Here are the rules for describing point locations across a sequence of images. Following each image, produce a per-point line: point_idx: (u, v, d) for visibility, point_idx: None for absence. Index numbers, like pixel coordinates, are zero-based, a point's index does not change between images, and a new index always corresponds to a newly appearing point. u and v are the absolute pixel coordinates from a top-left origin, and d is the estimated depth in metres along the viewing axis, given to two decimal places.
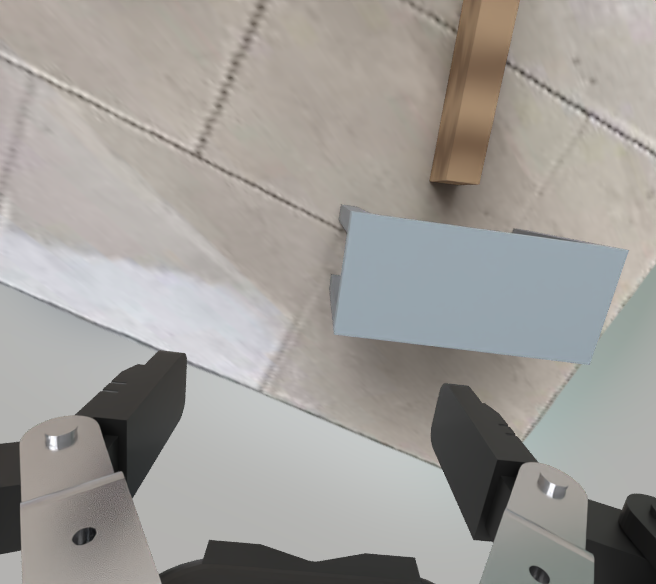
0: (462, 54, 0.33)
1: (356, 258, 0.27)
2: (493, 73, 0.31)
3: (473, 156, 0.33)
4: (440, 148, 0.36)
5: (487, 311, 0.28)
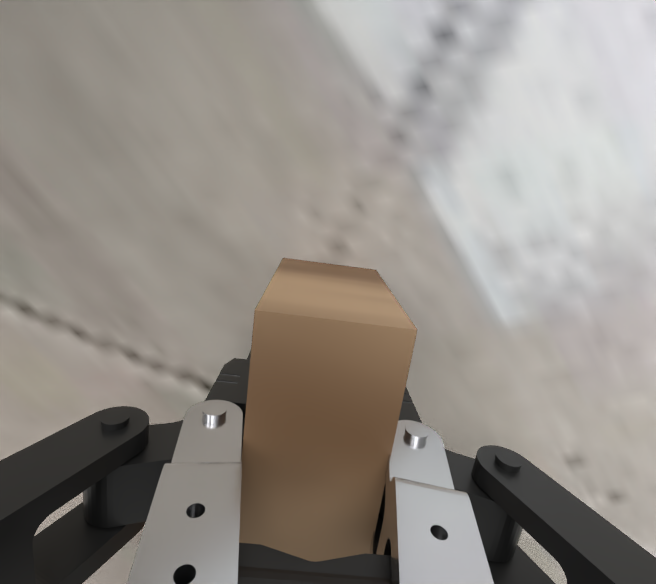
0: None
1: None
2: None
3: None
4: None
5: None
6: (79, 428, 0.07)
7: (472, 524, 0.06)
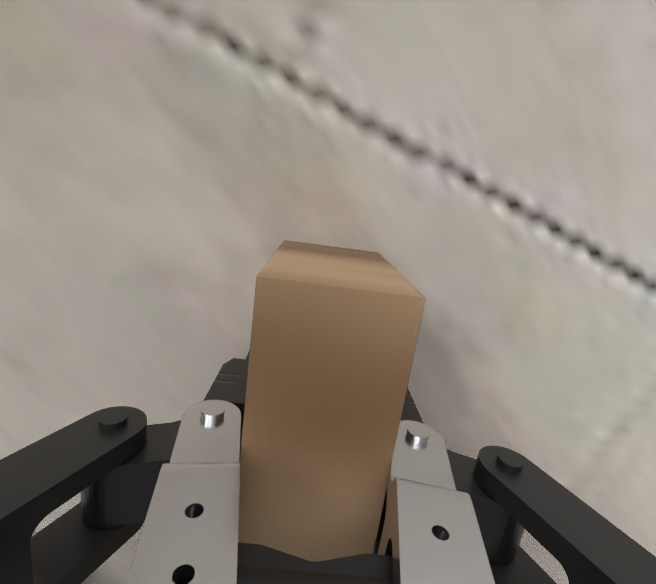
0: None
1: None
2: None
3: None
4: None
5: None
6: (77, 428, 0.07)
7: (474, 524, 0.06)
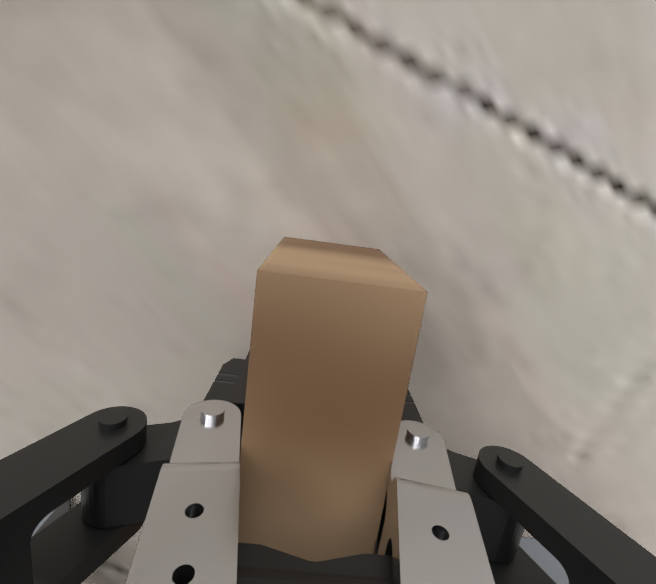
0: None
1: None
2: None
3: None
4: None
5: None
6: (77, 428, 0.07)
7: (473, 524, 0.06)
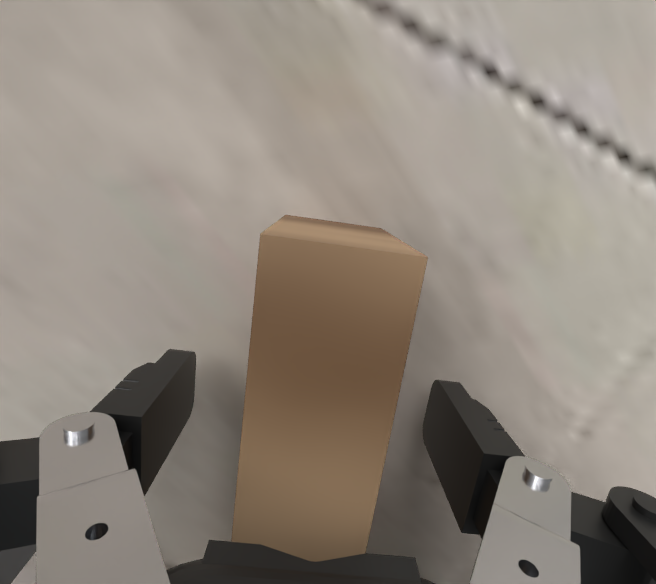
0: None
1: None
2: None
3: None
4: None
5: None
6: None
7: (574, 576, 0.05)
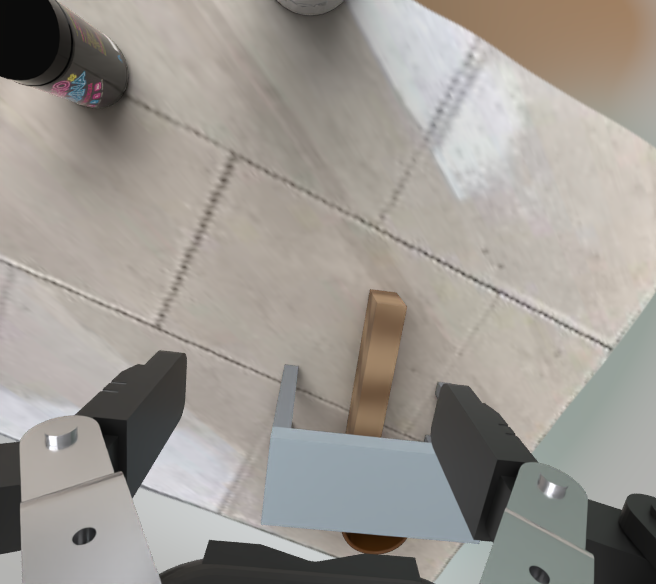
0: (361, 370, 0.41)
1: (276, 470, 0.32)
2: (380, 397, 0.40)
3: None
4: (349, 422, 0.45)
5: (389, 506, 0.33)
6: None
7: None
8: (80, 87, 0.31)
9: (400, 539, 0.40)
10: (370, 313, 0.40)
